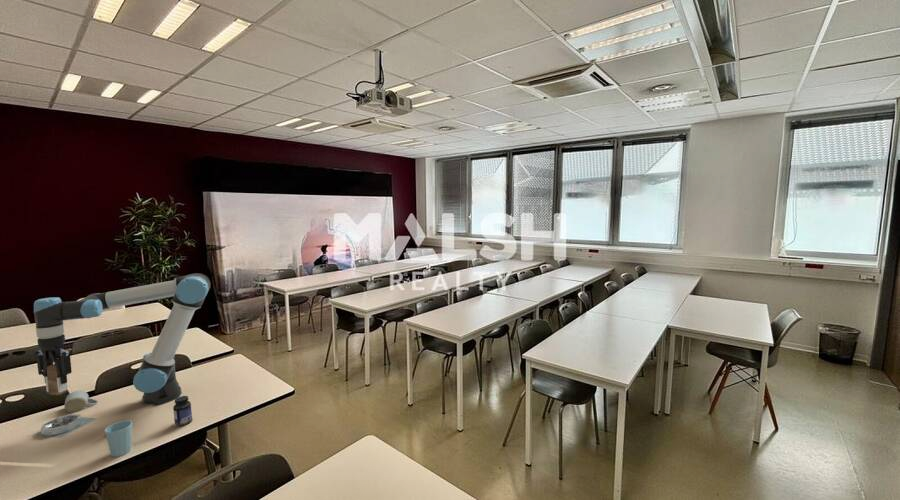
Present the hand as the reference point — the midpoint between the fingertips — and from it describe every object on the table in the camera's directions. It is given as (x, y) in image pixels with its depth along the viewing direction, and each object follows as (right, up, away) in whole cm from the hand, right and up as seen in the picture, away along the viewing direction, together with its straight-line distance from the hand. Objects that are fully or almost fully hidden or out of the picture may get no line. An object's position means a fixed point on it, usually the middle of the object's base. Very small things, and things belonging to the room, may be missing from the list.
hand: (57, 390), depth 150 cm
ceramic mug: (-9, -16, +19) cm, 26 cm away
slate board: (+1, -17, +3) cm, 17 cm away
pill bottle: (+48, -16, +6) cm, 51 cm away
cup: (+38, -18, -13) cm, 44 cm away
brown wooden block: (0, -1, 0) cm, 1 cm away
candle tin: (0, -16, +2) cm, 16 cm away
